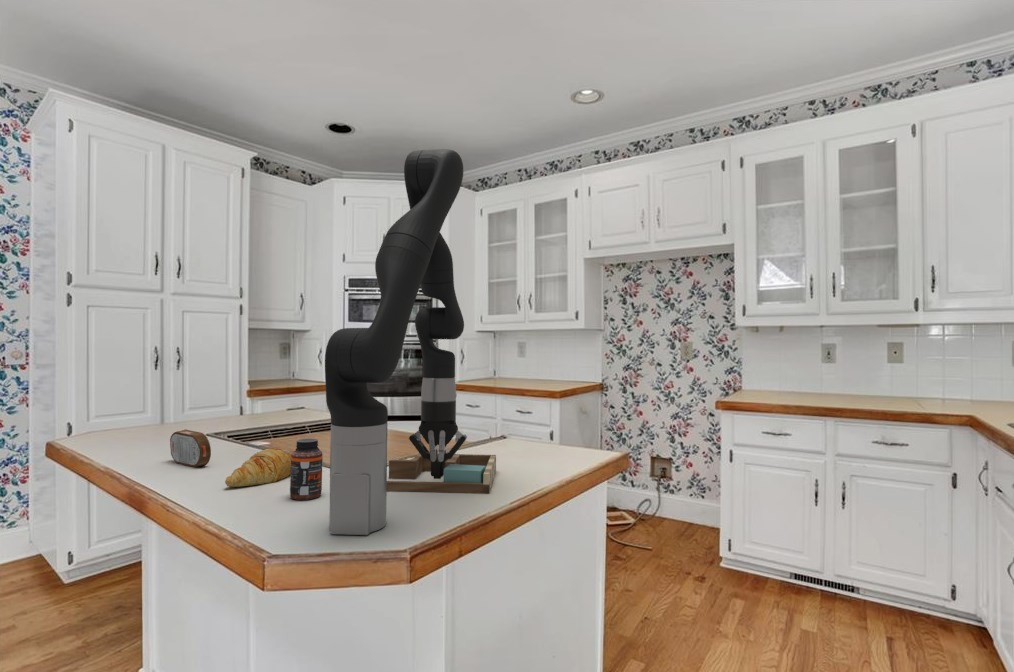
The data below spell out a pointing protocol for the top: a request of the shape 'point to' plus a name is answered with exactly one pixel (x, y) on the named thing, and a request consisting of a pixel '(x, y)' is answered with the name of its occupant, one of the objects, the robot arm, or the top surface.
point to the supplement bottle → (306, 470)
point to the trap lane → (419, 464)
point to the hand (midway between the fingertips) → (437, 478)
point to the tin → (190, 448)
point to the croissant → (261, 469)
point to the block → (464, 473)
